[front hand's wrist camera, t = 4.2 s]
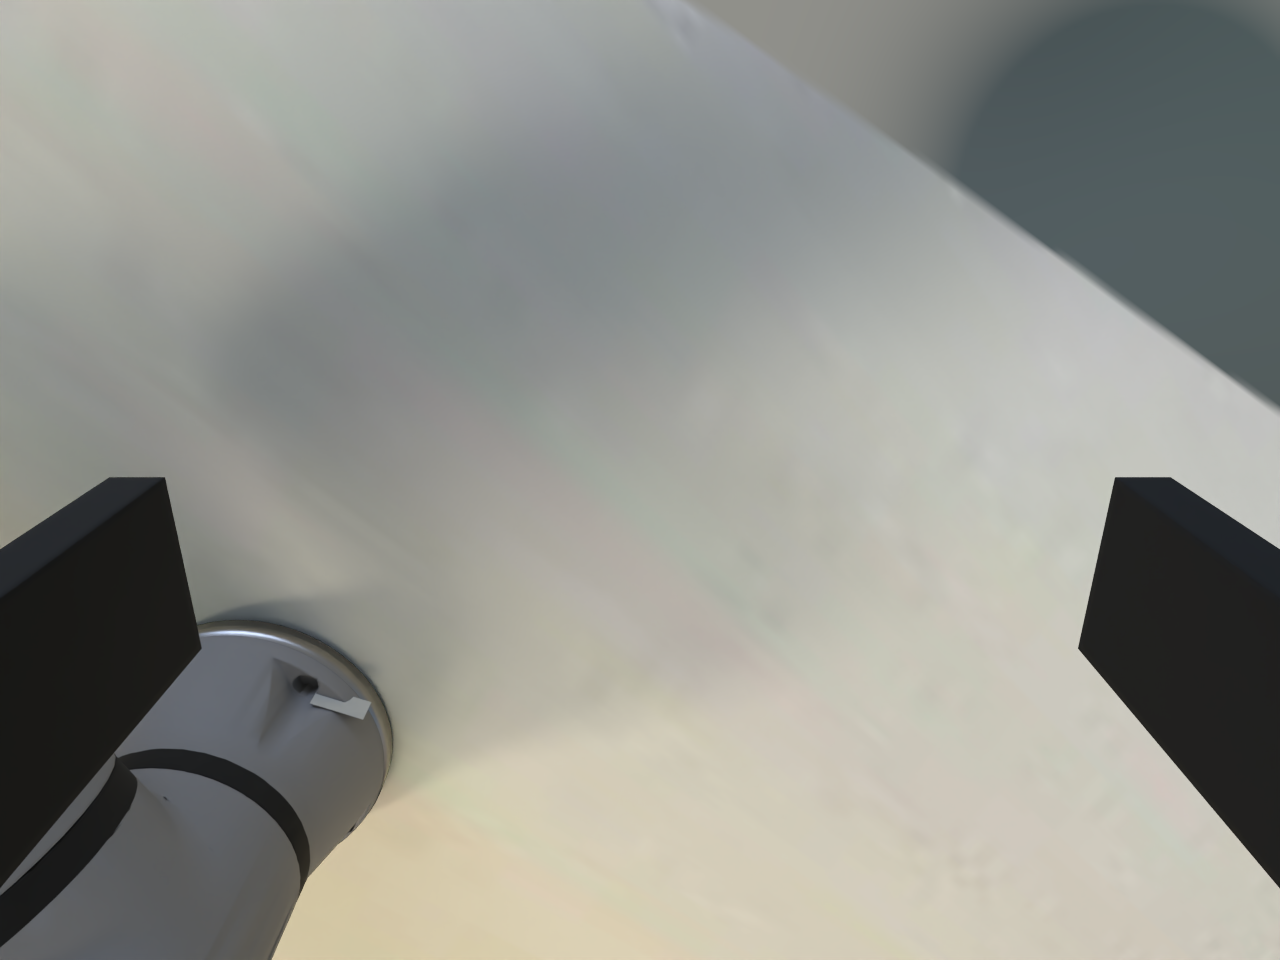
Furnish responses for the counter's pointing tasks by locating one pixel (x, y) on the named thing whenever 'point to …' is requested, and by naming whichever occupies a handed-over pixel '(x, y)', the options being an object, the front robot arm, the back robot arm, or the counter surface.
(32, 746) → the front robot arm
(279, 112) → the counter surface
